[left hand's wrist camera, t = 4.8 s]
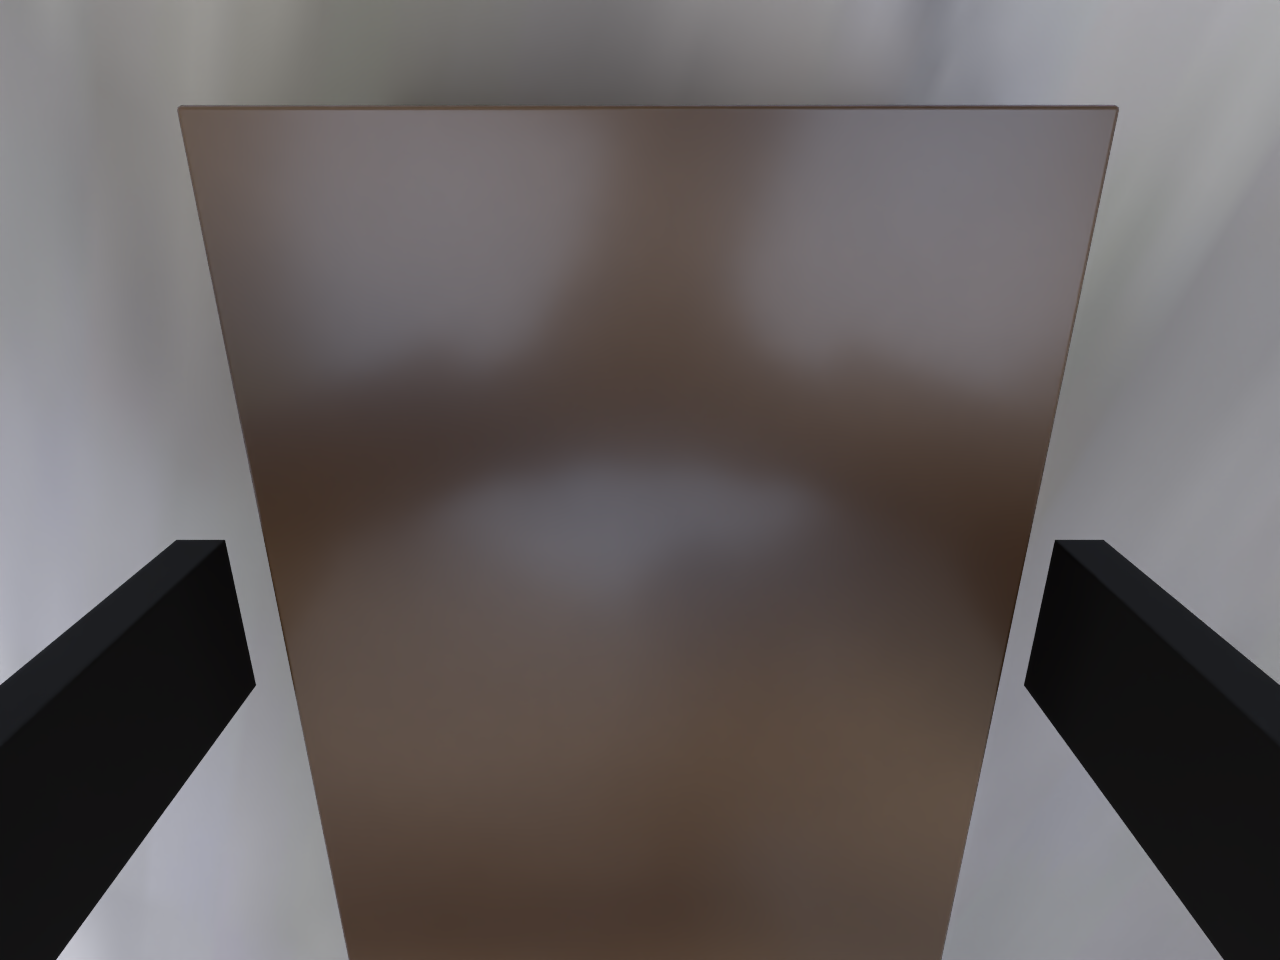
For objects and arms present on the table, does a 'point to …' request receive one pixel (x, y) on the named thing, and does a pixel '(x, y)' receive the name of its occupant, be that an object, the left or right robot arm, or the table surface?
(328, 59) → the table surface
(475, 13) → the table surface
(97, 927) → the table surface
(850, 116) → the thick board
